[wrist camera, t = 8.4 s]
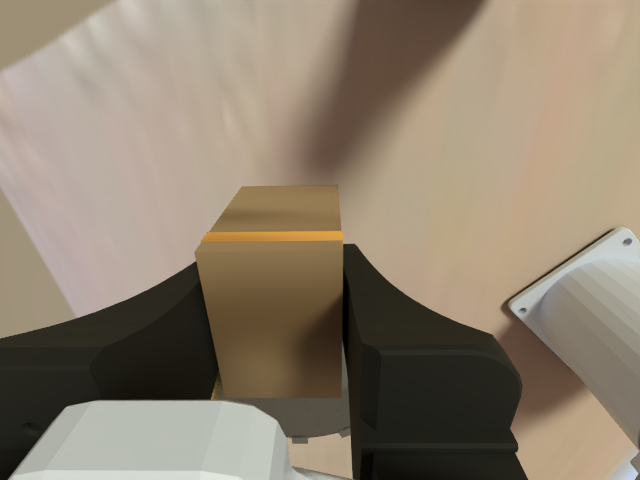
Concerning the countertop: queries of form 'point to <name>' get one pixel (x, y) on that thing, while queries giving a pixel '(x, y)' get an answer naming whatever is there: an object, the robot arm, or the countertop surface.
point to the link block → (276, 292)
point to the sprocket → (303, 411)
